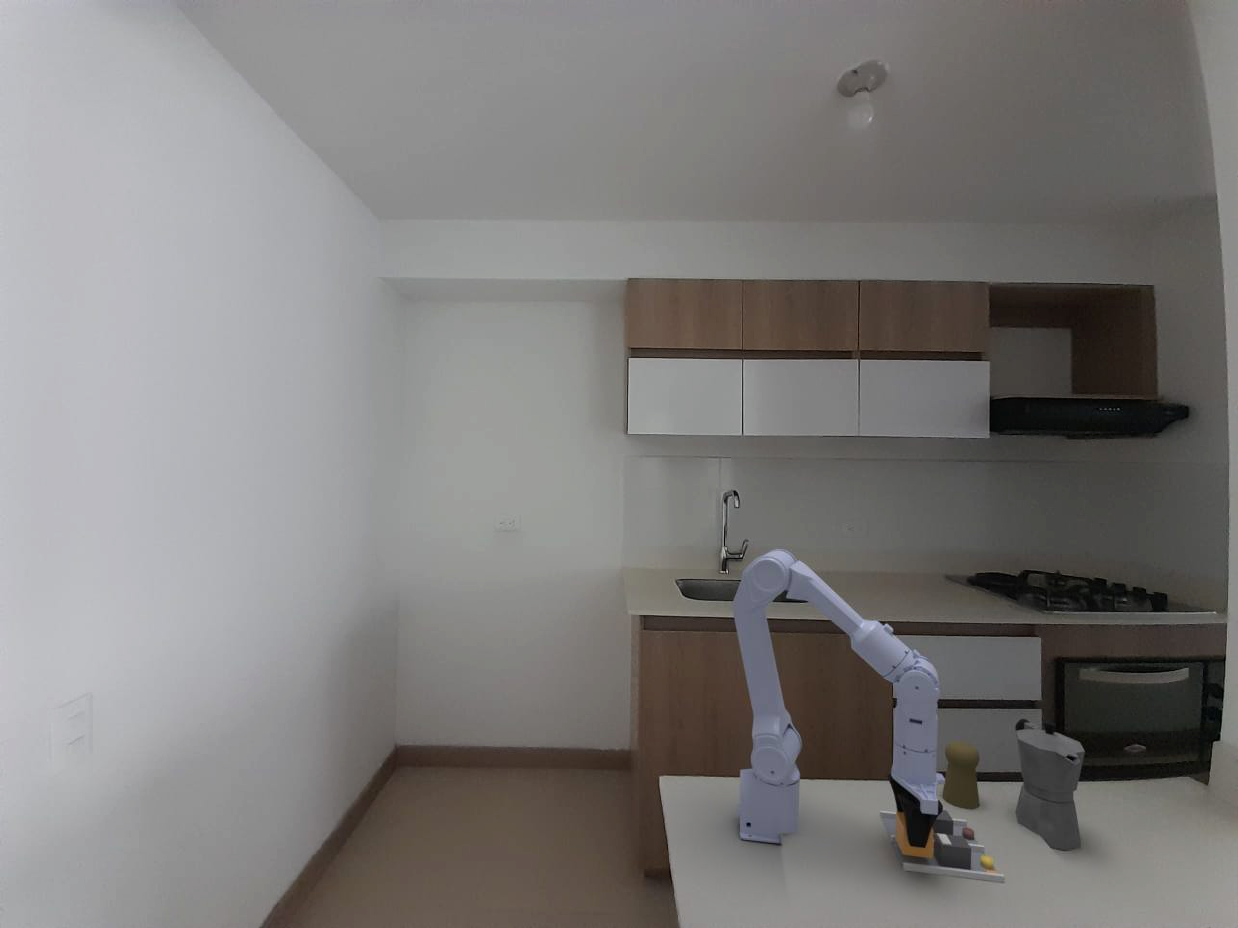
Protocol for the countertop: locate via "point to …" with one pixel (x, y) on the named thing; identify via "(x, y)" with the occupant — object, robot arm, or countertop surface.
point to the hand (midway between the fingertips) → (912, 836)
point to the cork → (961, 776)
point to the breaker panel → (979, 860)
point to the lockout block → (904, 844)
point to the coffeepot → (1049, 784)
